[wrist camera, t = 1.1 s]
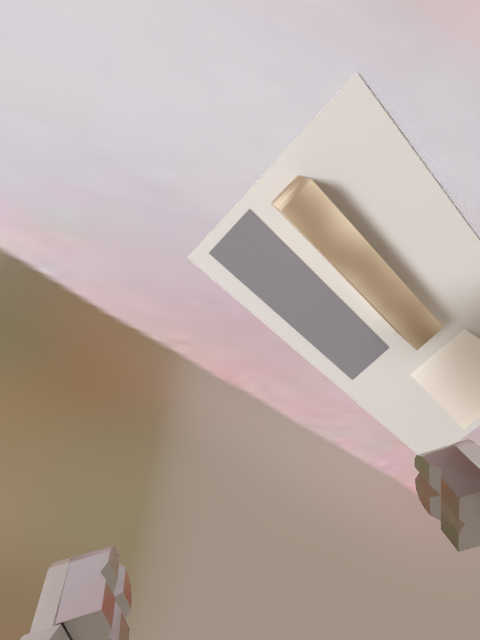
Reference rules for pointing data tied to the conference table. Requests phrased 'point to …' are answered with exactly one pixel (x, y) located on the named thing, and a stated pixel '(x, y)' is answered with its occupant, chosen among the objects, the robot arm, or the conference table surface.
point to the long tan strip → (355, 260)
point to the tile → (455, 378)
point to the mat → (331, 288)
